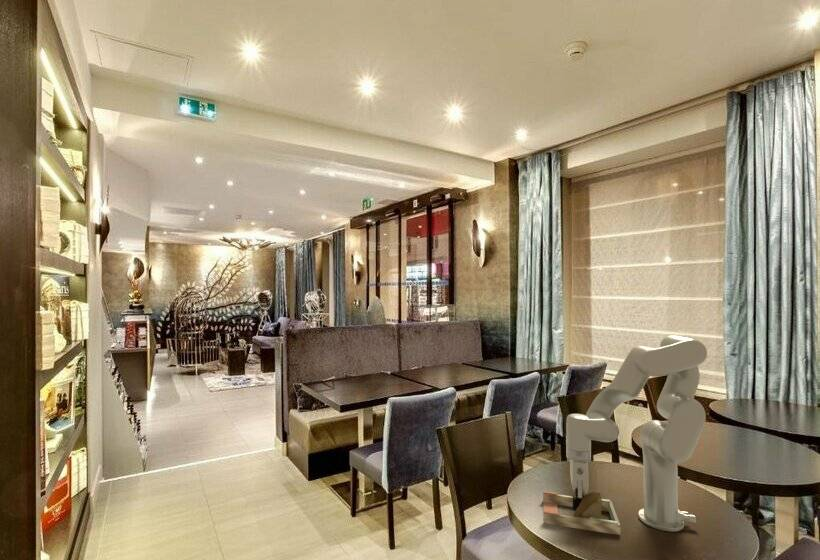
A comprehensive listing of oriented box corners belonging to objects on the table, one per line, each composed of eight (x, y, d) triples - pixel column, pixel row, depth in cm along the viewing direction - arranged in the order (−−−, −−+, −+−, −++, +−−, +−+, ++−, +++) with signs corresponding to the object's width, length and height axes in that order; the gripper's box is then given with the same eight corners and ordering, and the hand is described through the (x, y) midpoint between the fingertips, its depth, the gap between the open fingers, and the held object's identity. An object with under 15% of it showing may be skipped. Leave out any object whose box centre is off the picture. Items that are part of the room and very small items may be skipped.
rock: (573, 522, 130) (607, 522, 128) (567, 492, 135) (600, 491, 134) (571, 529, 138) (603, 528, 136) (565, 500, 144) (596, 499, 142)
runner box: (611, 510, 142) (611, 500, 142) (620, 535, 128) (620, 523, 128) (543, 501, 148) (543, 491, 148) (544, 523, 134) (544, 512, 134)
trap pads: (556, 503, 147) (556, 492, 147) (559, 525, 133) (559, 514, 133) (543, 501, 148) (543, 491, 148) (544, 523, 134) (544, 512, 134)
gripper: (593, 463, 130) (593, 523, 130) (588, 446, 145) (587, 501, 144) (568, 460, 133) (567, 519, 132) (564, 444, 147) (564, 497, 146)
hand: (578, 509), depth 138 cm, fingers closed
